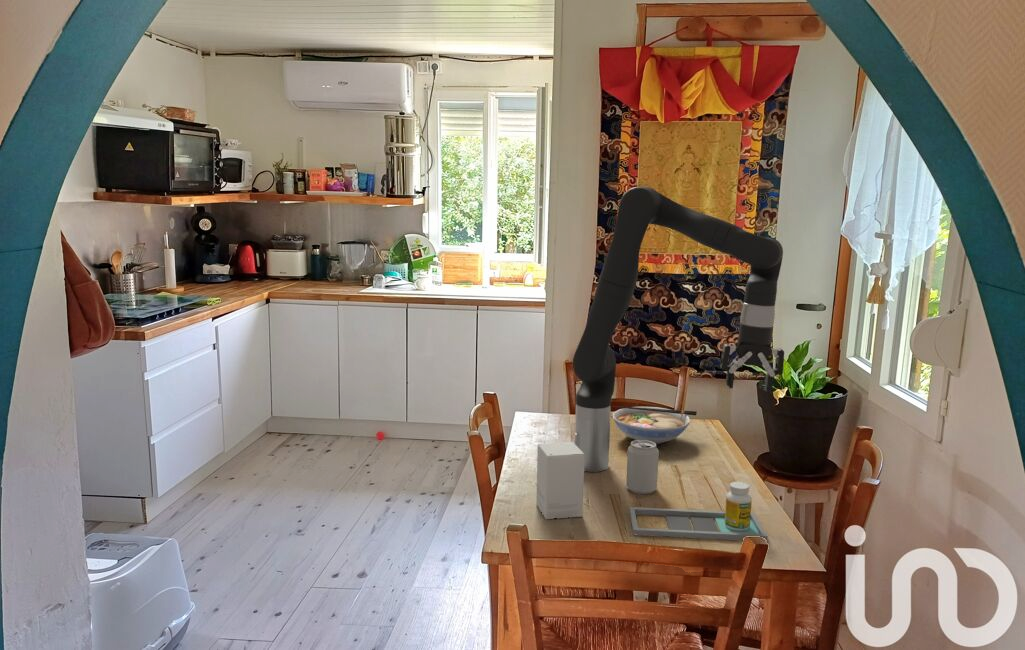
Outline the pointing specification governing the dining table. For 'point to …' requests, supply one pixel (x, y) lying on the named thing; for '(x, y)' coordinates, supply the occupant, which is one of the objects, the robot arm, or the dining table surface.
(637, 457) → the can
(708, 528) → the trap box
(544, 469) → the supplement box
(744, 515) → the supplement bottle
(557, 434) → the dining table surface
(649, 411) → the ramen bowl
